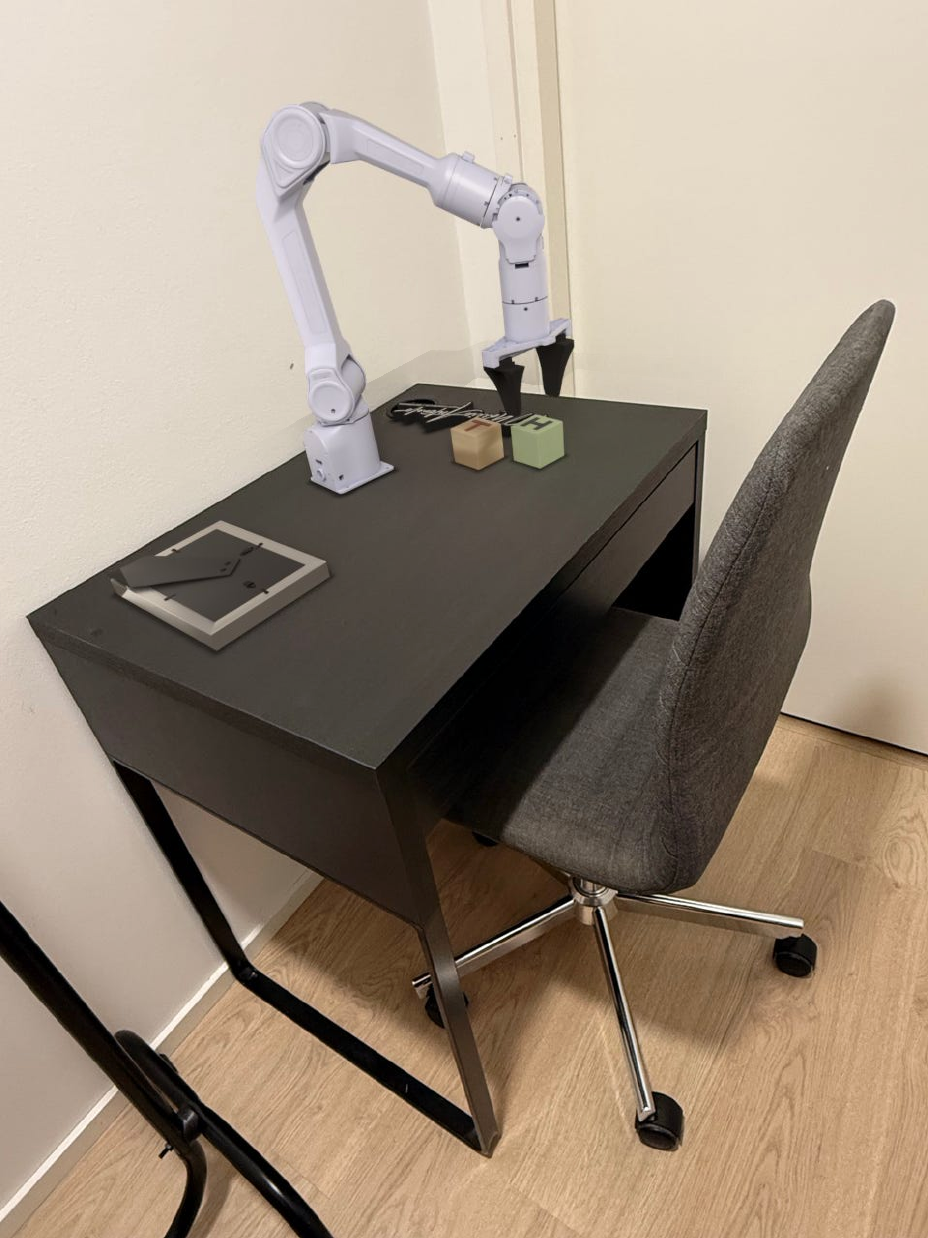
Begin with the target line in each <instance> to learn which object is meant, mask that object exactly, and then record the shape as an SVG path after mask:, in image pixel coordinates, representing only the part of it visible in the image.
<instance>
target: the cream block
mask: <svg viewBox="0 0 928 1238" xmlns="http://www.w3.org/2000/svg"><path fill="white" fill-rule="evenodd" d="M450 437H451V443H452V451H453V458H454V462H455V463H457V464H460V465H462V466H466V467H468V468H472V469H474V470H477V471H480V470H482V469H484V468H485V467H488V466H490V465H492V464H494V463H495V462H498V461H499V460H501V459H503V458H505V453H504V444H503V435H502V432H501V424H500V423H496V422H493V421H489V420H486V419H482V418H478V417H475V418H473V419H471V420H469V421H466V422H464V423H462V424H460V425H455V426H454V427H451V428H450Z"/></svg>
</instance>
